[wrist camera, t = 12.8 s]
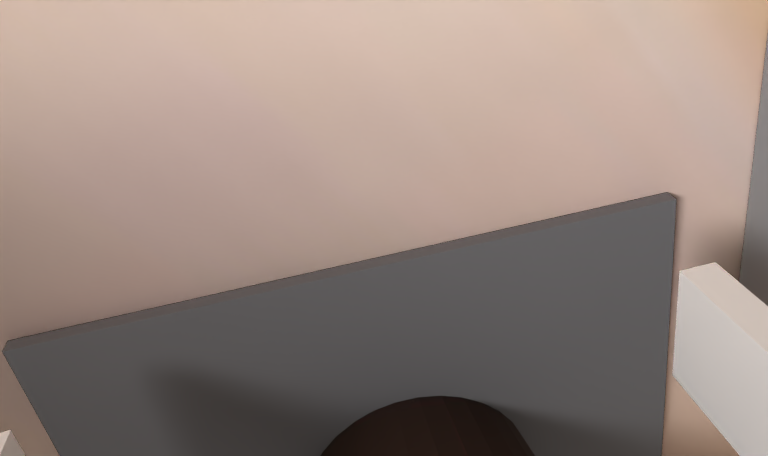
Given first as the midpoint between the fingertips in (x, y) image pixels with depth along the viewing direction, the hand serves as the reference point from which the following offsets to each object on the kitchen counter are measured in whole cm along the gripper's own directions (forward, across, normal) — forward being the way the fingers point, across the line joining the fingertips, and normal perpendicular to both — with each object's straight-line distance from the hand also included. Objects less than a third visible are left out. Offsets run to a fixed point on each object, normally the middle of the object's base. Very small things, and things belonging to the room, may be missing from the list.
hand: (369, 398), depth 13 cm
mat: (+4, 0, -7) cm, 8 cm away
